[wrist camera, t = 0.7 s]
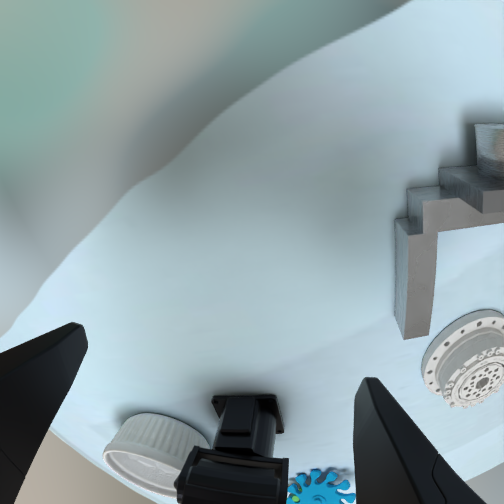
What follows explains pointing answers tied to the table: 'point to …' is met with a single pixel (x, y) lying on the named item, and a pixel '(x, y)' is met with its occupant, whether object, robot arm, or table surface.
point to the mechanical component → (467, 359)
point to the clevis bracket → (444, 225)
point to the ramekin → (152, 451)
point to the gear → (319, 490)
